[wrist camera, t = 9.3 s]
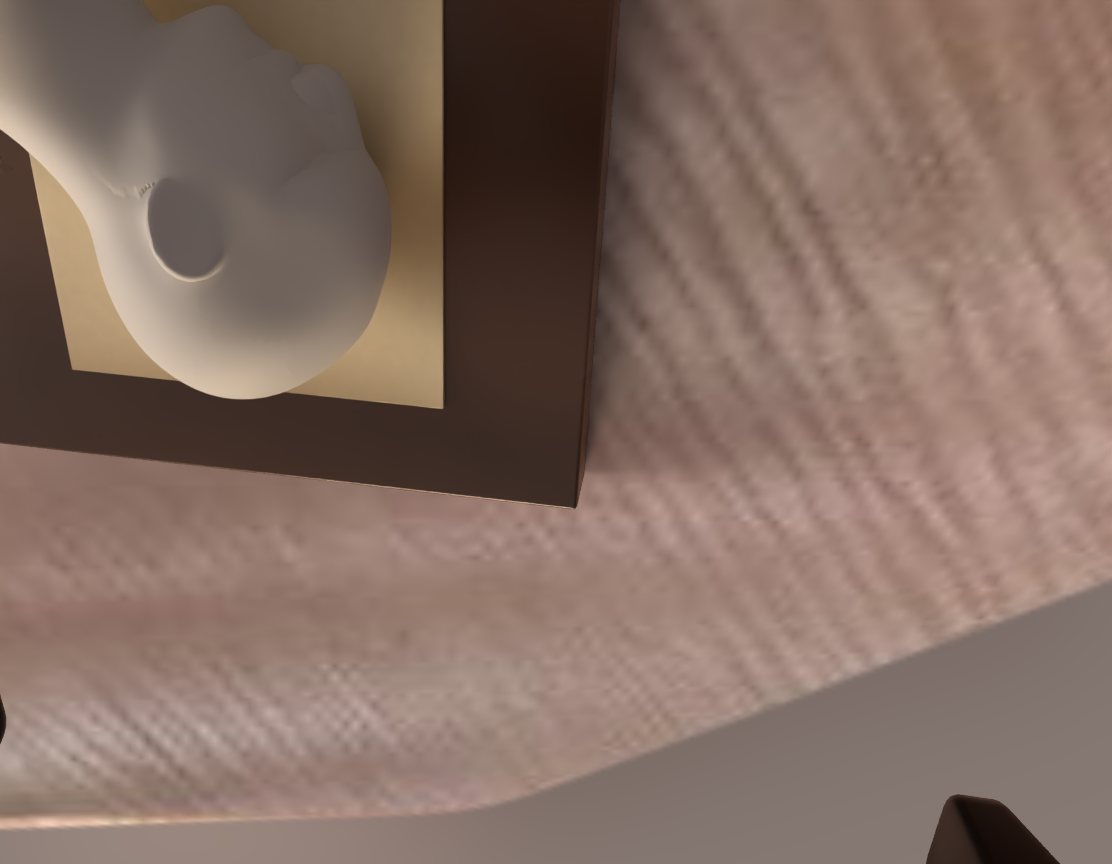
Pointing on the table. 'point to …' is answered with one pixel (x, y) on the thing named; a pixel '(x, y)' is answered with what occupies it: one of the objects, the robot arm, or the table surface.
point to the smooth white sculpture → (204, 184)
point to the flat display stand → (411, 280)
